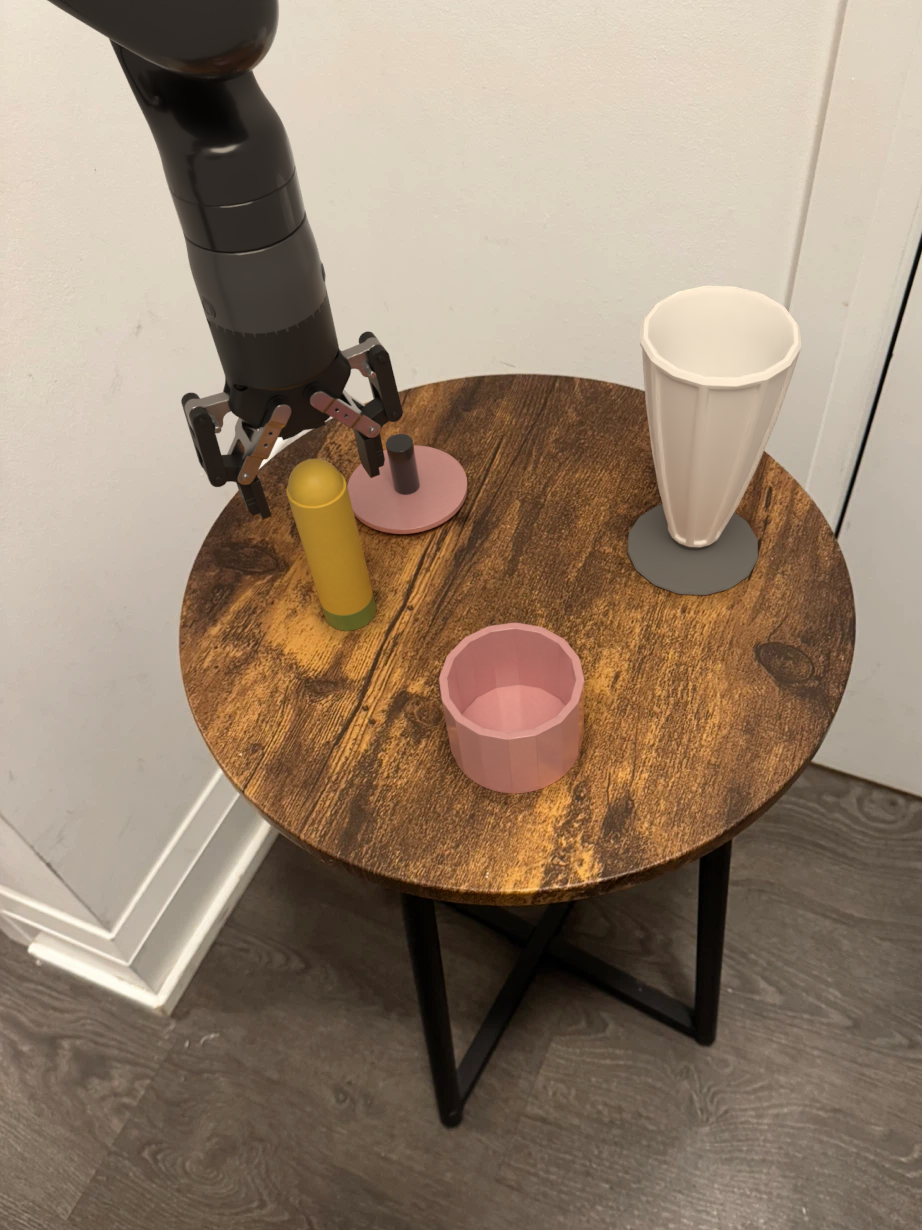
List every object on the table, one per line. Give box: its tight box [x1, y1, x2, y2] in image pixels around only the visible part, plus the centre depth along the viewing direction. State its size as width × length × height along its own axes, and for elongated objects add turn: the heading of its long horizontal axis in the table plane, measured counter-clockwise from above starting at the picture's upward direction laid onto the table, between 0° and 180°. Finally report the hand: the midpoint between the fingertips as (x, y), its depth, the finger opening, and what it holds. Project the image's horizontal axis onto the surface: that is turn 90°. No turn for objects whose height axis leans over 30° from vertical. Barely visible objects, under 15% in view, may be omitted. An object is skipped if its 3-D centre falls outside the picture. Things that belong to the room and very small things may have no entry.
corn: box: [285, 458, 377, 632], centre depth 81 cm, size 4×4×16 cm
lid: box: [347, 433, 469, 535], centre depth 93 cm, size 11×11×6 cm
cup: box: [626, 285, 802, 596], centre depth 82 cm, size 12×12×22 cm
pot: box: [438, 622, 585, 794], centre depth 77 cm, size 10×10×8 cm
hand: (317, 490), depth 76 cm, fingers open, 8 cm apart
